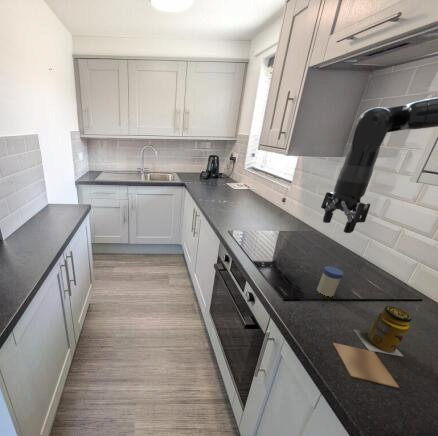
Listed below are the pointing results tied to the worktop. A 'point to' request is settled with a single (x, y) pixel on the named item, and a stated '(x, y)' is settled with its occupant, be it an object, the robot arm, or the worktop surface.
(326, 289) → the jar
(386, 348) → the condiment
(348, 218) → the robot arm
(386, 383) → the coaster
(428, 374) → the worktop surface
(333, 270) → the lid
